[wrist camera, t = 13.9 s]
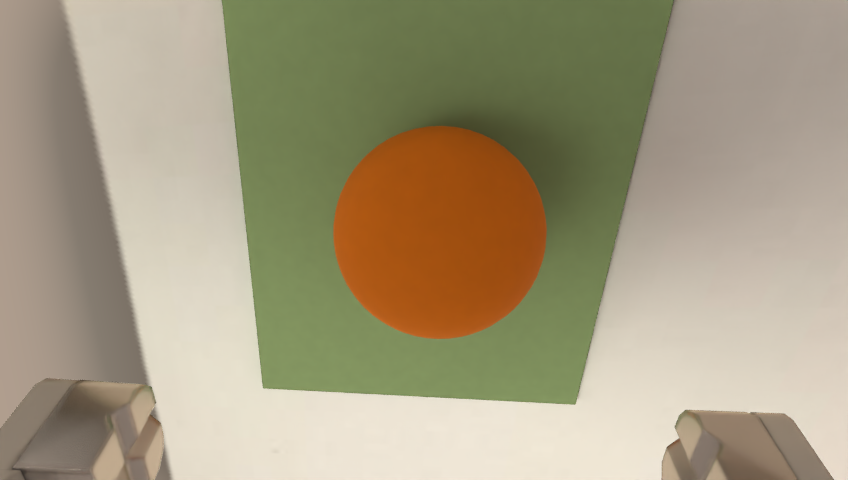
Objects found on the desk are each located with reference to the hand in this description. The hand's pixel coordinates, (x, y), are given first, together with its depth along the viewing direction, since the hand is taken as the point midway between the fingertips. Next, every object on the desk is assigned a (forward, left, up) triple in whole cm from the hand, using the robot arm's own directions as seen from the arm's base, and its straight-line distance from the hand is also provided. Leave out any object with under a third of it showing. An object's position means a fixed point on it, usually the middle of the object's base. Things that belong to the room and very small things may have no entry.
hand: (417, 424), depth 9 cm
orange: (+1, 0, -10) cm, 10 cm away
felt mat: (+1, 0, -11) cm, 11 cm away
